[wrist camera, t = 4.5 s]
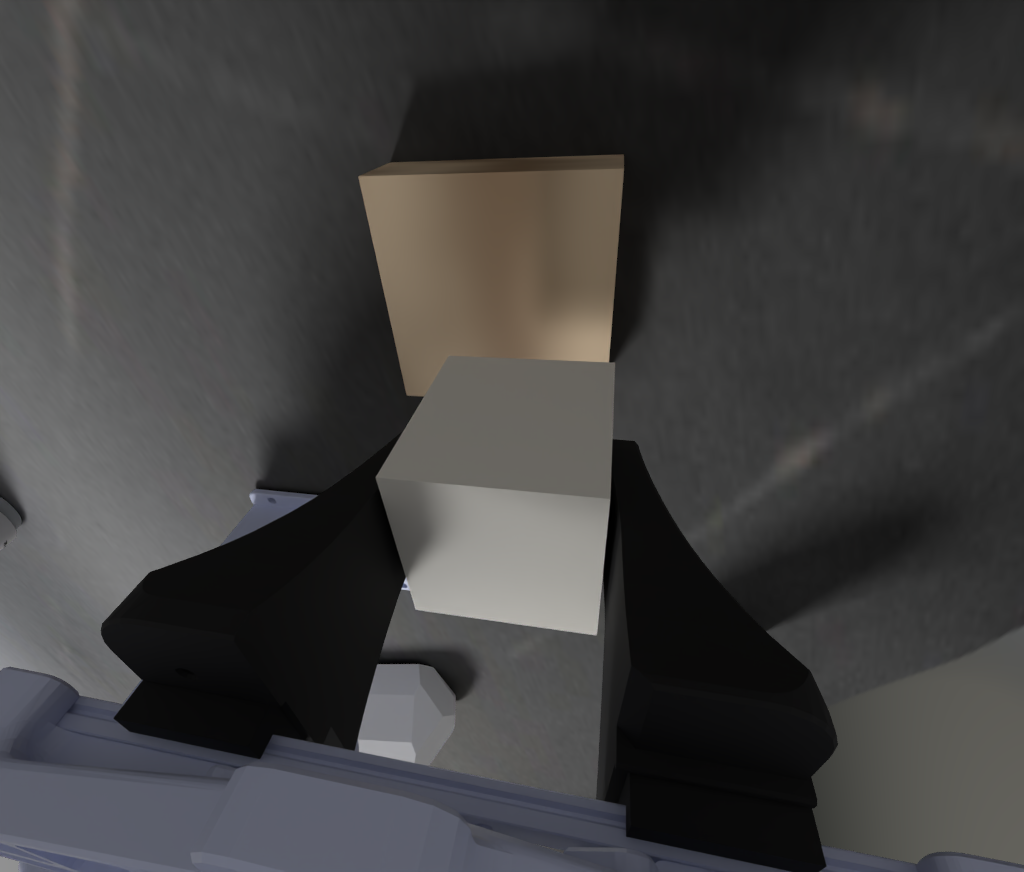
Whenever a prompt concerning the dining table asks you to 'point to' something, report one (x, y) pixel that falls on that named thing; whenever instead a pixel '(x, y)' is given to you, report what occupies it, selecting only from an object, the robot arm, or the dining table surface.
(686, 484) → the dining table surface
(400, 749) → the crystal
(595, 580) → the cream block
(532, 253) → the oak slab
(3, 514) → the energy drink can
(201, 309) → the dining table surface
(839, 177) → the dining table surface
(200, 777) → the robot arm
